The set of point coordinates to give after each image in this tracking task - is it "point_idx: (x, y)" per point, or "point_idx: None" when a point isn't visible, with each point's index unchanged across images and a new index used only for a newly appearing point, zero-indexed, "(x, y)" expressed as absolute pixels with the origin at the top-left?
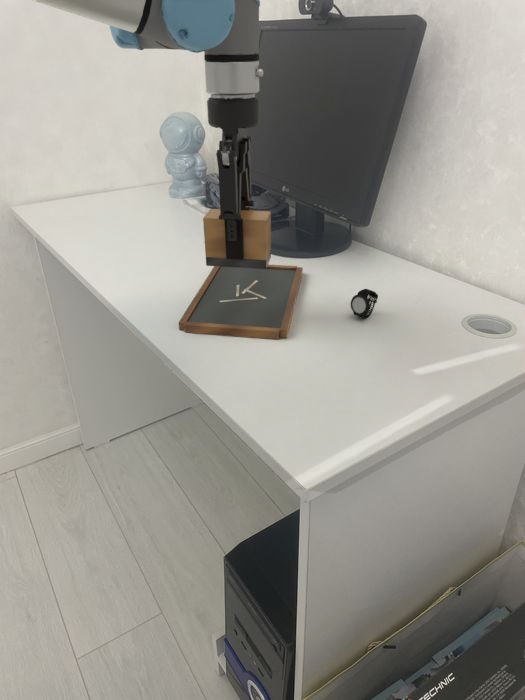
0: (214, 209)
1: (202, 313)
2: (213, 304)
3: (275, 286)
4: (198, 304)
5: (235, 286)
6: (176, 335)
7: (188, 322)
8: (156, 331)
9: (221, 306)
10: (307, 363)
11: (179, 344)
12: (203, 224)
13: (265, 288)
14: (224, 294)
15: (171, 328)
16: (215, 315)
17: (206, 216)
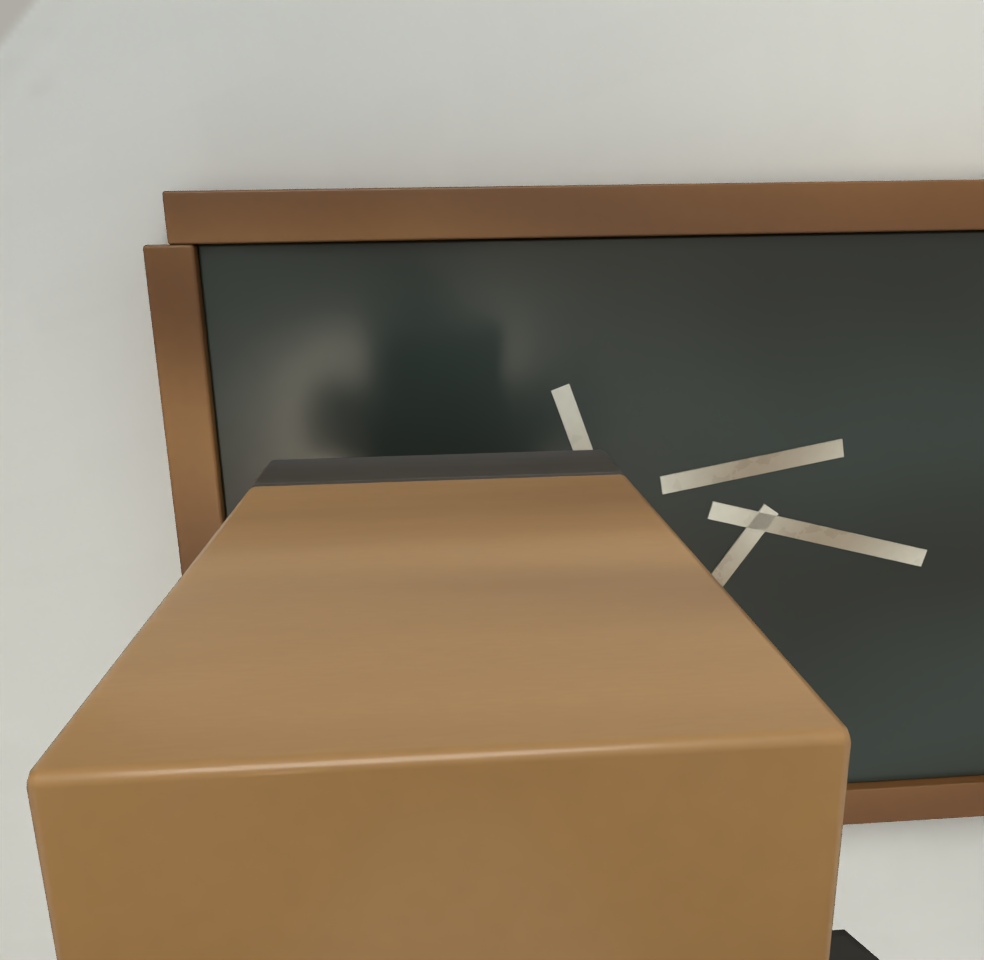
0: (797, 833)
1: (360, 315)
2: (510, 354)
3: (835, 691)
4: (491, 245)
5: (818, 434)
6: (110, 198)
7: (179, 265)
8: (124, 31)
9: (489, 417)
10: (31, 953)
11: (4, 257)
12: (103, 684)
13: (801, 636)
14: (680, 389)
15: (193, 129)
16: (349, 413)
17: (151, 829)
